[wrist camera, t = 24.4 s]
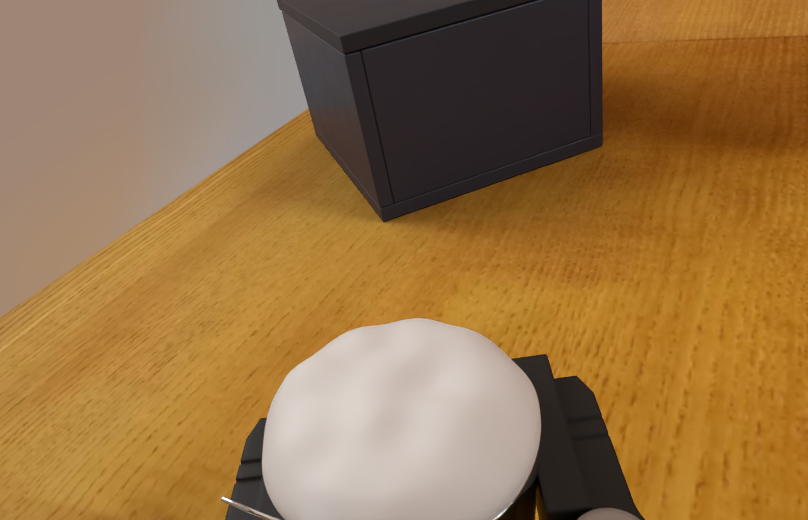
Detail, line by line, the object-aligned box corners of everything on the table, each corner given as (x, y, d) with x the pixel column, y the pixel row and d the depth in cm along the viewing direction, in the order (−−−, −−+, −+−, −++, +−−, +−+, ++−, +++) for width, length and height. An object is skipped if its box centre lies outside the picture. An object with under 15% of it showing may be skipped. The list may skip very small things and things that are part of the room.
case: (316, 135, 45) (281, 11, 40) (481, 84, 48) (466, -38, 43) (383, 222, 32) (344, 55, 28) (602, 145, 35) (602, -19, 30)
